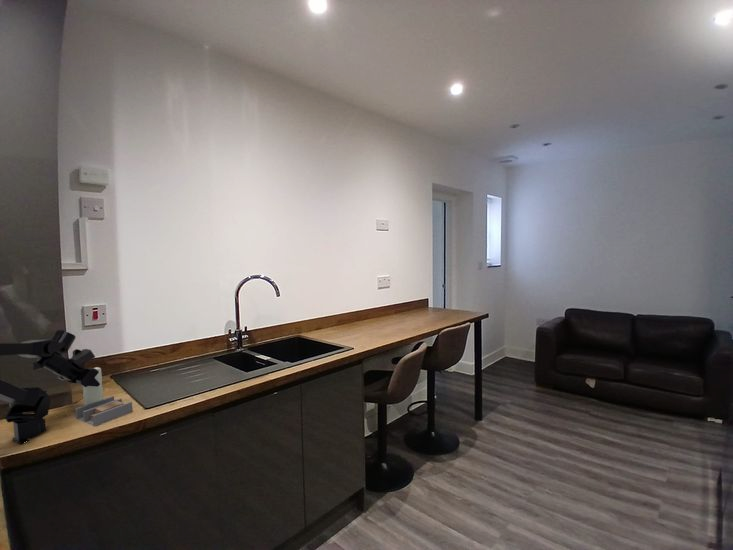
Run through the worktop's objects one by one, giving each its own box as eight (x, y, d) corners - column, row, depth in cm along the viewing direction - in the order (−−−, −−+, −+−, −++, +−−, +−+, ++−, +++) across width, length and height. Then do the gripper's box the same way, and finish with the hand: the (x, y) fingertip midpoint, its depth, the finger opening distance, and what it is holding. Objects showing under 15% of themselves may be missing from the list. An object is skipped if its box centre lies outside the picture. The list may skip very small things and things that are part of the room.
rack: (95, 428, 121) (94, 416, 121) (76, 420, 127) (75, 408, 127) (132, 413, 132) (131, 402, 131) (113, 406, 138) (112, 395, 137)
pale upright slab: (88, 407, 134) (85, 372, 133) (83, 405, 136) (81, 371, 135) (103, 402, 139) (101, 368, 138) (98, 400, 140) (96, 367, 139)
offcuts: (97, 423, 123) (96, 412, 123) (90, 420, 125) (89, 410, 125) (125, 412, 131) (125, 402, 131) (118, 409, 133) (118, 400, 133)
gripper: (90, 347, 128) (125, 368, 138) (64, 341, 136) (99, 362, 147) (65, 376, 121) (104, 396, 132) (39, 368, 130) (77, 388, 140)
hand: (96, 384), depth 138 cm, fingers closed on pale upright slab, 3 cm apart
